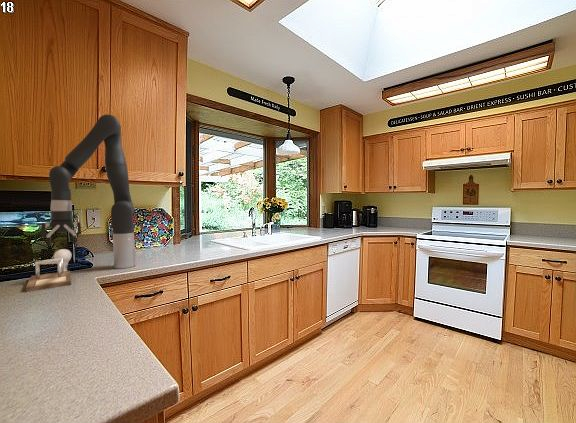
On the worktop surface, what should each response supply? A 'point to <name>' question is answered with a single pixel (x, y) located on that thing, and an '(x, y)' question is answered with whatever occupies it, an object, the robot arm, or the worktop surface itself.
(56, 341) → the worktop surface
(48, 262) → the silver arch frame
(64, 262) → the lightbulb
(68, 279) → the walnut board
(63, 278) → the cork pad
